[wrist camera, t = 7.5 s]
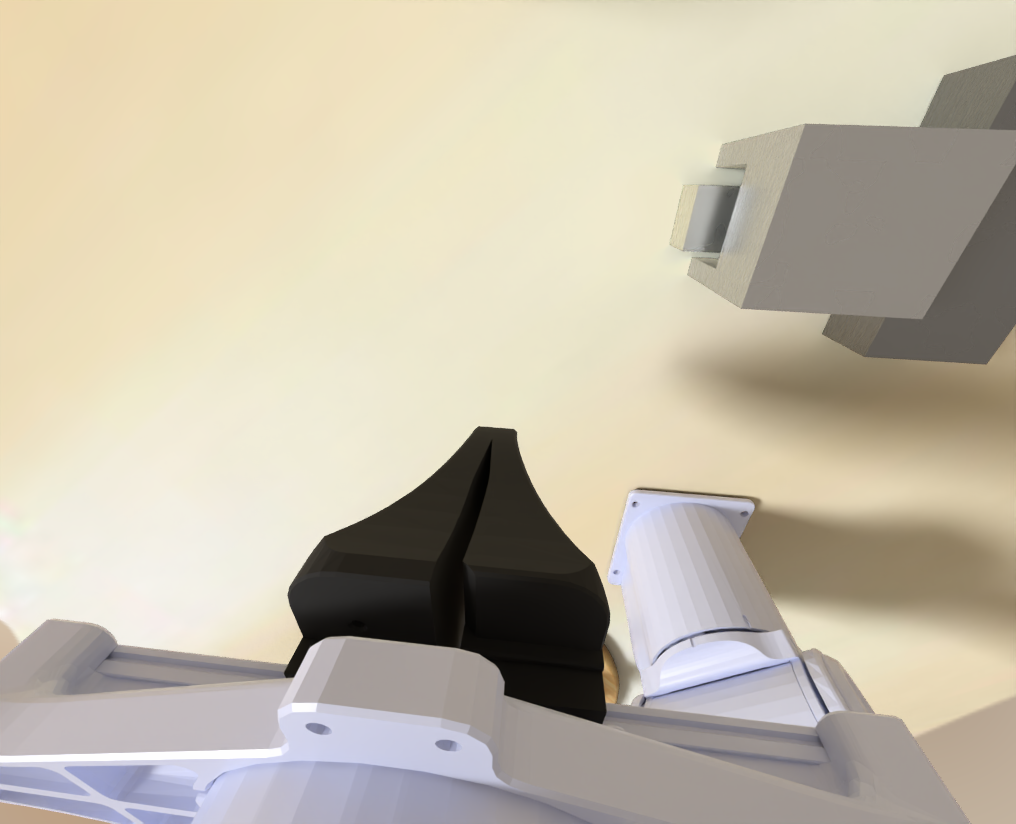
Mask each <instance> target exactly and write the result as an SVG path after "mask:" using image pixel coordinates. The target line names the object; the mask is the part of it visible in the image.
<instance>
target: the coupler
mask: <svg viewBox="0 0 1016 824" xmlns="http://www.w3.org/2000/svg"><path fill="white" fill-rule="evenodd" d="M920 127H925V128H957V129H990V130H1016V55H1014V56H1011V57H1007V58H1004V59H1000V60H997V61H993V62H990V63H986V64H983V65H979V66H976V67H972V68H968V69H965V70H961V71H958V72H954V73H951V74H947V75H944V77H943V79H942V81H941V83H940V85H939V87H938V89H937V92H936V94H935V96H934V98H933V100H932V102H931V104H930V106H929V109H928V111H927V113H926V115H925V117H924V119H923V121H922V123H921V126H920ZM739 190H740V187H739V186H713V185H683V189H682V193H681V197H680V202H679V206H678V210H677V215H676V219H675V223H674V228H673V232H672V236H671V241H670V245H671V246H673V247H675V248H677V249H680V250H682V251H696V252H716V253H721V250H722V246H723V243H724V240H725V236H726V233H727V230H728V226H729V223H730V220H731V216H732V213H733V210H734V206H735V203H736V200H737V196H738V193H739ZM1015 325H1016V164H1015V166H1014V168H1013V169H1012V171H1011V173H1010V174H1009V176H1008V178H1007V179H1006V181H1005V183H1004V184H1003V186H1002V188H1001V189H1000V191H999V193H998V194H997V196H996V198H995V199H994V201H993V203H992V204H991V206H990V208H989V209H988V211H987V213H986V214H985V216H984V218H983V219H982V221H981V223H980V224H979V226H978V228H977V229H976V231H975V233H974V234H973V236H972V238H971V239H970V241H969V243H968V244H967V246H966V248H965V249H964V251H963V253H962V254H961V256H960V257H959V259H958V261H957V262H956V264H955V266H954V267H953V269H952V271H951V272H950V274H949V276H948V277H947V279H946V281H945V282H944V284H943V286H942V287H941V289H940V291H939V292H938V294H937V296H936V297H935V299H934V301H933V302H932V304H931V306H930V307H929V309H928V311H927V312H926V314H925V316H924V317H923V319H909V318H892V317H875V316H858V315H841V314H831V316H830V318H829V321H828V323H827V325H826V327H825V329H824V331H823V333H822V334H823V335H825V336H827V337H828V338H830V339H832V340H834V341H836V342H838V343H840V344H841V345H843V346H845V347H847V348H849V349H851V350H853V351H855V352H856V353H858V354H860V355H862V356H864V357H877V358H893V359H909V360H925V361H941V362H957V363H973V364H987V363H988V361H989V360H990V359H991V357H992V356H993V355H994V353H995V352H996V351H997V349H998V348H999V346H1000V345H1001V344H1002V342H1003V341H1004V340H1005V338H1006V337H1007V335H1008V334H1009V333H1010V331H1011V330H1012V329H1013V327H1014V326H1015Z"/></svg>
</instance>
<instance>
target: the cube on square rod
mask: <svg viewBox="0 0 1016 824" xmlns="http://www.w3.org/2000/svg"><path fill="white" fill-rule="evenodd" d="M1015 164H1016V130H990V129H957V128H925V127H893V126H860V125H828V124H803V125H799V126H795V127H791V128H787V129H783V130H778V131H774V132H770V133H766V134H762V135H758V136H754V137H750V138H746V139H742V140H738V141H734V142H730V143H726V144H722V146H721V149H720V153H719V157H718V161H717V165H716V167H720V168H746V170H745V173H744V176H743V180H742V183H741V186H740V190H739V193H738V196H737V200H736V203H735V206H734V210H733V213H732V216H731V220H730V223H729V226H728V230H727V233H726V236H725V240H724V243H723V246H722V250H721V253H720V256H719V259H715V258H695V257H692V259H691V263H690V266H689V270H688V274H687V275H688V276H690V277H691V278H693V279H695V280H696V281H698V282H699V283H701V284H703V285H704V286H706V287H707V288H709V289H711V290H712V291H714V292H715V293H717V294H719V295H720V296H722V297H723V298H725V299H726V300H728V301H730V302H731V303H733V304H734V305H736V306H738V307H739V308H741V309H756V310H773V311H790V312H807V313H824V314H841V315H858V316H875V317H892V318H909V319H923V317H924V316H925V314H926V312H927V311H928V309H929V307H930V306H931V304H932V302H933V301H934V299H935V297H936V296H937V294H938V292H939V291H940V289H941V287H942V286H943V284H944V282H945V281H946V279H947V277H948V276H949V274H950V272H951V271H952V269H953V267H954V266H955V264H956V262H957V261H958V259H959V257H960V256H961V254H962V253H963V251H964V249H965V248H966V246H967V244H968V243H969V241H970V239H971V238H972V236H973V234H974V233H975V231H976V229H977V228H978V226H979V224H980V223H981V221H982V219H983V218H984V216H985V214H986V213H987V211H988V209H989V208H990V206H991V204H992V203H993V201H994V199H995V198H996V196H997V194H998V193H999V191H1000V189H1001V188H1002V186H1003V184H1004V183H1005V181H1006V179H1007V178H1008V176H1009V174H1010V173H1011V171H1012V169H1013V168H1014V166H1015Z"/></svg>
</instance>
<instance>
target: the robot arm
mask: <svg viewBox="0 0 1016 824" xmlns="http://www.w3.org/2000/svg"><path fill="white" fill-rule="evenodd" d="M633 502H637V503H633ZM754 509H755V505H754V503H753V502H752V501H751V500H750V499H742V498H731V497H719V496H707V495H695V494H684V493H672V492H660V491H648V490H633V491H631V492H630V493H629V495H628V498H627V502H626V506H625V510H624V514H623V518H622V521H621V525H620V529H619V533H618V537H617V541H616V545H615V548H614V552H613V556H612V560H611V564H610V568H609V571H608V575H607V579H608V582H609V583H611V584H615V585H621V588H622V594H623V599H624V604H625V610H626V615H627V621H628V626H629V632H630V637H631V642H632V648H633V653H634V658H635V662H636V665H637V667H638V670H639V672H640V676H641V681H642V686H643V692H644V694H641V695H638V696H636V697H635V699H634V700H633V701H632V704H631V705H622V704H614V703H606V700H605V691H604V682H603V673H602V672H603V671H604V658H603V649H602V648H603V645H604V641H605V638H606V634H607V631H608V628H609V624H610V610H609V605H608V601H607V597H606V594H605V590H604V587H603V585H602V582H601V579H600V576H599V574H598V571H597V569H596V567H595V564H594V563H593V562H592V561H591V560H590V559H589V558H588V557H587V556H586V555H585V554H584V553H582V552H581V551H580V550H579V549H578V548H577V547H576V546H575V544H574V543H573V542H572V541H571V540H570V539H569V538H568V537H567V535H566V534H565V533H564V532H563V531H562V529H561V528H560V527H559V525H558V524H557V523H556V521H555V520H554V519H553V518H552V516H551V515H550V513H549V512H548V510H547V509H546V507H545V506H544V504H543V503H542V501H541V499H540V498H539V496H538V494H537V492H536V490H535V489H534V487H533V485H532V483H531V480H530V478H529V476H528V474H527V471H526V469H525V466H524V463H523V461H522V458H521V455H520V451H519V447H518V443H517V432H516V431H515V430H514V429H506V428H493V427H480V426H478V427H477V428H476V429H475V430H474V431H473V433H472V434H471V435H470V437H469V438H468V439H467V440H466V441H465V443H464V444H463V445H462V446H461V447H460V448H459V449H458V450H457V451H456V453H455V454H454V455H453V456H452V457H451V458H450V459H449V460H448V461H447V462H446V463H445V464H444V465H443V466H442V467H441V468H440V469H438V470H437V471H436V472H435V473H434V474H433V475H432V476H431V477H430V478H428V479H427V480H426V481H425V482H424V483H422V484H421V485H420V486H418V487H417V488H416V489H414V490H413V491H412V492H410V493H409V494H407V495H406V496H404V497H403V498H401V499H399V500H398V501H396V502H395V503H393V504H392V505H390V506H388V507H386V508H385V509H383V510H381V511H379V512H377V513H376V514H374V515H372V516H370V517H368V518H366V519H364V520H362V521H359V522H357V523H355V524H353V525H350V526H348V527H346V528H343V529H341V530H339V531H336V532H334V533H332V534H329V535H326V536H324V537H323V539H322V540H321V542H320V543H319V544H318V545H317V546H316V548H315V549H314V550H313V552H312V553H311V554H310V556H309V557H308V559H307V560H306V562H305V563H304V565H303V567H302V568H301V570H300V571H299V573H298V574H297V576H296V577H295V579H294V581H293V582H292V584H291V585H290V587H289V591H288V599H289V604H290V607H291V609H292V612H293V614H294V616H295V619H296V621H297V623H298V626H299V628H300V630H301V632H302V635H303V638H302V640H301V642H300V644H299V645H298V647H297V649H296V651H295V653H294V655H293V656H292V658H291V660H290V662H289V664H288V665H286V664H277V663H269V662H261V661H252V660H244V659H235V658H227V657H219V656H210V655H202V654H193V653H185V652H176V651H168V650H160V649H151V648H143V647H134V646H126V645H118V644H117V641H116V639H115V638H114V636H113V635H112V634H111V633H110V632H109V631H108V630H107V629H105V628H103V627H101V626H99V625H96V624H92V623H86V622H77V621H69V620H60V619H50V620H46V621H45V622H44V623H43V624H42V625H41V626H40V627H38V628H37V629H36V630H35V631H34V632H33V633H31V634H30V635H29V636H28V637H27V638H26V639H24V640H23V641H22V642H21V643H20V644H19V645H18V646H16V647H15V648H14V649H13V650H12V651H11V652H10V653H8V654H7V655H6V656H5V657H4V658H3V659H1V660H0V802H4V803H10V804H16V805H22V806H29V807H34V808H39V809H44V810H50V811H55V812H60V813H66V814H71V815H75V816H80V817H85V818H89V819H94V820H99V821H103V822H108V823H112V824H971V823H970V821H969V820H968V818H967V817H966V815H965V814H964V812H963V811H962V809H961V808H960V806H959V805H958V803H957V802H956V800H955V799H954V797H953V796H952V794H951V793H950V792H949V790H948V788H947V787H946V785H945V784H944V783H943V781H942V780H941V778H940V776H939V775H938V773H937V772H936V770H935V769H934V767H933V766H932V764H931V763H930V761H929V760H928V758H927V757H926V755H925V754H924V752H923V751H922V749H921V748H920V746H919V745H918V743H917V742H916V740H915V739H914V737H913V736H912V734H911V733H910V731H909V730H908V728H907V727H906V725H905V724H904V722H903V721H902V719H900V718H898V717H896V716H889V715H881V714H875V713H874V711H873V710H872V708H871V707H870V705H869V704H868V702H867V701H866V699H865V698H864V696H863V695H862V693H861V692H860V690H859V689H858V687H857V686H856V684H855V683H854V681H853V680H852V679H851V677H850V676H849V674H848V673H847V672H846V670H845V669H844V668H843V666H842V665H841V664H840V663H839V662H838V661H837V660H835V659H833V658H831V657H829V656H827V655H823V654H822V653H821V652H820V651H819V650H817V649H814V648H812V649H811V650H807V651H803V652H802V651H801V649H800V648H799V647H798V646H797V644H796V642H795V640H794V638H793V636H792V635H791V633H790V631H789V629H788V627H787V625H786V624H785V622H784V620H783V618H782V616H781V614H780V613H779V611H778V609H777V607H776V605H775V603H774V602H773V600H772V598H771V596H770V594H769V592H768V591H767V589H766V587H765V585H764V583H763V581H762V580H761V578H760V576H759V574H758V572H757V570H756V569H755V567H754V565H753V563H752V561H751V559H750V558H749V556H748V554H747V552H746V550H745V548H744V547H743V545H742V543H741V541H740V537H741V535H742V533H743V531H744V529H745V527H746V525H747V523H748V521H749V519H750V517H751V515H752V513H753V511H754ZM743 511H744V512H743Z"/></svg>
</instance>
